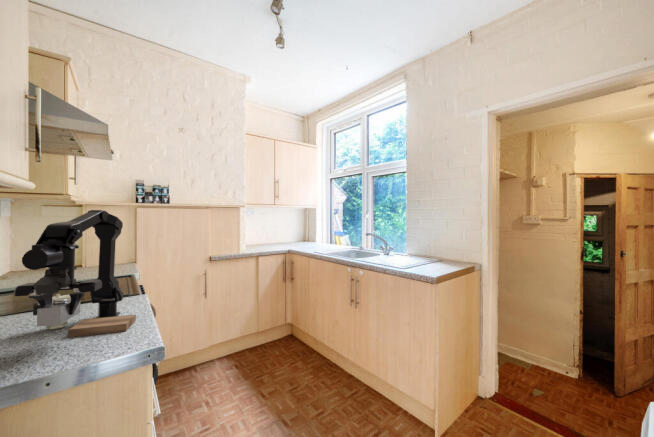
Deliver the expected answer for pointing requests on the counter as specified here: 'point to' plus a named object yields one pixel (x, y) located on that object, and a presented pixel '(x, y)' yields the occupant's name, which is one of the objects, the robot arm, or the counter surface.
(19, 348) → the counter surface
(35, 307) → the pneumatic valve
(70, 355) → the counter surface
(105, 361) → the counter surface
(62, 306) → the housing
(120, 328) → the walnut stand
